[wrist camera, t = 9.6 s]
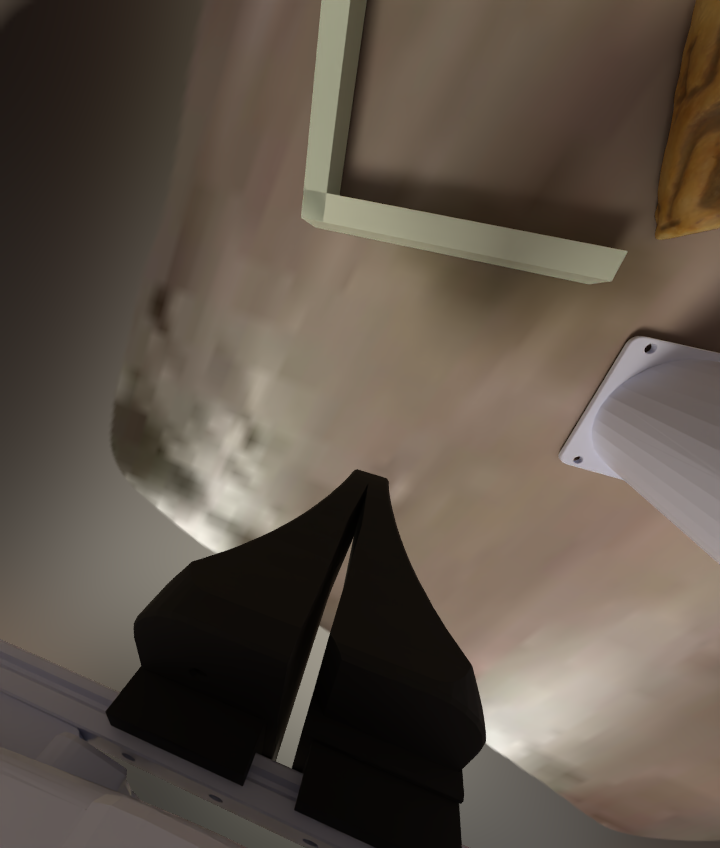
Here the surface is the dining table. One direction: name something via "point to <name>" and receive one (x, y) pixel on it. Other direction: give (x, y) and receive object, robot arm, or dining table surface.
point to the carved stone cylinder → (694, 134)
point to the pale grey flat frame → (401, 224)
